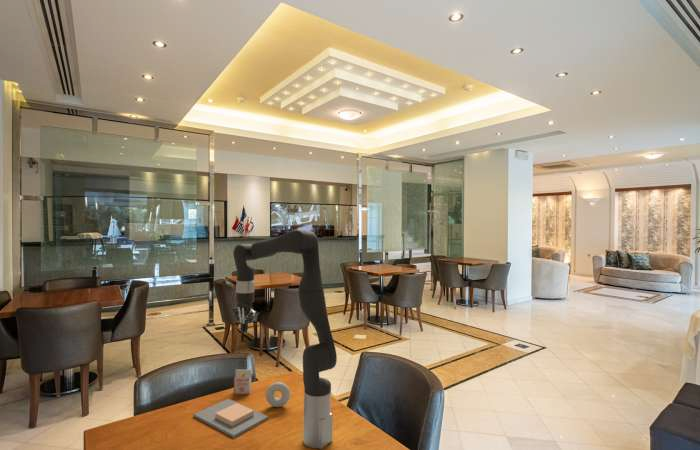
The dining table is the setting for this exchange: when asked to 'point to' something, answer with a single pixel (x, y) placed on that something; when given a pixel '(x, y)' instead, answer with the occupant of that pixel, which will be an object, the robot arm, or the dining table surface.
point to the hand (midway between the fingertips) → (244, 331)
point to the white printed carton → (242, 382)
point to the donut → (272, 399)
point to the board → (209, 418)
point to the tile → (234, 414)
